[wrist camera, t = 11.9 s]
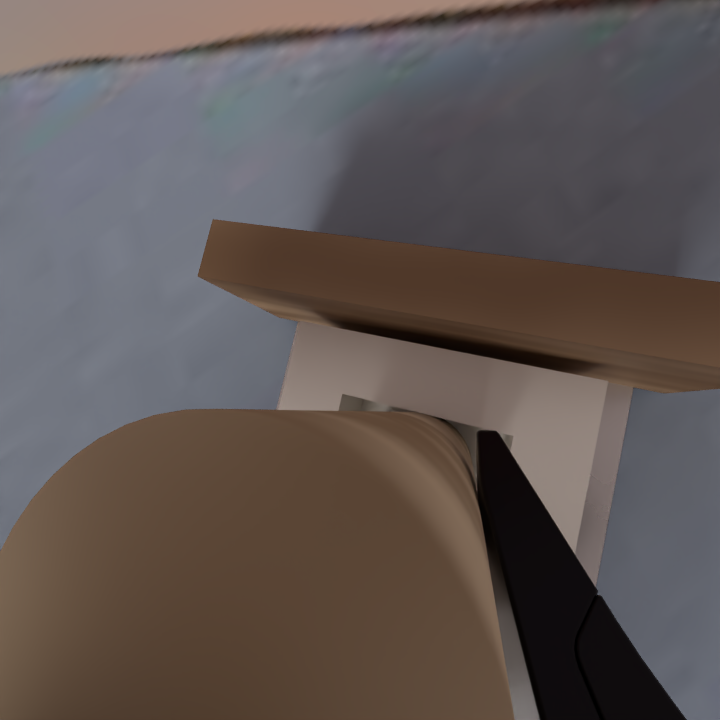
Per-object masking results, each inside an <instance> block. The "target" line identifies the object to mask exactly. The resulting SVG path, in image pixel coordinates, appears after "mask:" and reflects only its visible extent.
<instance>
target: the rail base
mask: <svg viewBox="0 0 720 720" xmlns="http://www.w3.org/2000/svg"><path fill="white" fill-rule="evenodd" d="M198 277H200V278H202V279H204V280H206V281H208V282H210V283H212V284H214V285H216V286H218V287H220V288H222V289H224V290H226V291H228V292H230V293H232V294H234V295H236V296H238V297H240V298H242V299H244V300H246V301H248V302H250V303H252V304H254V305H256V306H258V307H259V308H261V309H263V310H265V311H267V312H269V313H271V314H273V315H275V316H277V317H279V318H284V319H289V320H294V321H298V324H297V328H296V332H295V336H294V340H293V344H292V348H291V352H290V356H289V360H288V364H287V368H286V372H285V376H284V380H283V384H282V388H281V392H280V396H279V400H278V404H277V408H276V410H278V408H279V404H280V400H281V396H282V392H283V388H284V384H285V380H286V376H287V372H288V368H289V364H290V360H291V356H292V352H293V348H294V344H295V340H296V336H297V332H298V328H299V324H300V321H305V322H310V323H315V324H320V325H325V326H330V327H335V328H340V329H345V330H350V331H356V332H361V333H366V334H371V335H376V336H381V337H386V338H391V339H396V340H401V341H407V342H412V343H417V344H422V345H427V346H432V347H437V348H442V349H447V350H452V351H458V352H463V353H468V354H473V355H478V356H483V357H488V358H493V359H498V360H503V361H509V362H514V363H519V364H524V365H529V366H534V367H539V368H544V369H549V370H554V371H560V372H565V373H570V374H575V375H580V376H585V377H590V378H595V379H600V380H605V381H608V385H607V391H606V396H605V401H604V406H603V411H602V416H601V422H600V427H599V432H598V437H597V442H596V447H595V453H594V458H593V463H592V468H591V473H590V479H589V484H588V489H587V494H586V499H585V504H584V510H583V515H582V520H581V525H580V530H579V535H578V541H577V546H576V551H575V555H576V557H577V558H578V560H579V562H580V563H581V565H582V566H583V568H584V569H585V571H586V573H587V574H588V576H589V577H590V579H591V581H592V582H593V584H594V585H595V587H596V583H597V577H598V572H599V567H600V562H601V556H602V551H603V546H604V540H605V535H606V530H607V525H608V519H609V514H610V509H611V503H612V498H613V493H614V488H615V482H616V477H617V472H618V466H619V461H620V456H621V450H622V445H623V440H624V435H625V429H626V424H627V419H628V413H629V408H630V403H631V398H632V392H633V387H634V388H640V389H645V390H650V391H655V392H660V393H675V392H686V391H698V390H709V389H720V282H714V281H706V280H698V279H690V278H682V277H674V276H666V275H658V274H650V273H642V272H634V271H626V270H617V269H609V268H601V267H593V266H585V265H577V264H569V263H561V262H553V261H545V260H537V259H529V258H521V257H513V256H505V255H496V254H488V253H480V252H472V251H464V250H456V249H448V248H440V247H432V246H424V245H416V244H408V243H400V242H392V241H384V240H375V239H367V238H359V237H351V236H343V235H335V234H327V233H319V232H311V231H303V230H295V229H287V228H279V227H271V226H263V225H254V224H246V223H238V222H230V221H222V220H214V219H213V221H212V224H211V228H210V232H209V236H208V239H207V243H206V247H205V251H204V254H203V258H202V262H201V265H200V269H199V273H198Z"/></svg>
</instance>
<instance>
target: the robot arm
mask: <svg viewBox="0 0 720 720" xmlns="http://www.w3.org/2000/svg"><path fill="white" fill-rule="evenodd" d="M476 467H477V495H478V501H479V507H480V513H481V519H482V525H483V531H484V537H485V543H486V549H487V555H488V561H489V567H490V573H491V579H492V586H493V592H494V598H495V604H496V610H497V616H498V622H499V628H500V634H501V640H502V646H503V652H504V658H505V665H506V671H507V677H508V683H509V689H510V695H511V701H512V707H513V713H514V719H515V720H687V719H686V718H685V717H684V715H683V714H682V713H681V711H680V710H679V709H678V707H677V706H676V705H675V703H674V702H673V701H672V699H671V698H670V697H669V695H668V694H667V692H666V691H665V690H664V688H663V687H662V686H661V684H660V683H659V681H658V680H657V679H656V677H655V676H654V674H653V673H652V672H651V670H650V669H649V668H648V666H647V665H646V663H645V662H644V661H643V659H642V658H641V656H640V655H639V653H638V652H637V650H636V649H635V647H634V646H633V644H632V643H631V641H630V640H629V638H628V637H627V635H626V634H625V632H624V631H623V629H622V628H621V626H620V625H619V623H618V622H617V620H616V618H615V617H614V615H613V614H612V612H611V610H610V609H609V607H608V606H607V604H606V603H605V601H604V599H603V598H602V596H600V595H597V593H598V590H597V589H596V587H595V585H594V584H593V582H592V581H591V579H590V577H589V576H588V574H587V573H586V571H585V569H584V568H583V566H582V565H581V563H580V562H579V560H578V558H577V557H576V555H575V554H574V552H573V550H572V549H571V547H570V546H569V544H568V542H567V541H566V539H565V538H564V536H563V534H562V533H561V531H560V530H559V528H558V526H557V525H556V523H555V522H554V520H553V519H552V517H551V515H550V514H549V512H548V511H547V509H546V507H545V506H544V504H543V503H542V501H541V499H540V498H539V496H538V495H537V493H536V491H535V490H534V488H533V487H532V485H531V483H530V482H529V480H528V479H527V477H526V476H525V474H524V472H523V471H522V469H521V468H520V466H519V464H518V463H517V461H516V460H515V458H514V456H513V455H512V453H511V452H510V450H509V448H508V447H507V445H506V444H505V442H504V440H503V439H502V437H501V436H500V434H499V433H498V432H497V431H495V430H479V431H477V433H476Z"/></svg>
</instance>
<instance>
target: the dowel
mask: <svg viewBox="0 0 720 720" xmlns="http://www.w3.org/2000/svg"><path fill="white" fill-rule="evenodd" d="M0 720H515V719H514V713H513V707H512V701H511V695H510V689H509V683H508V677H507V671H506V665H505V658H504V652H503V646H502V640H501V634H500V628H499V622H498V616H497V610H496V604H495V598H494V592H493V586H492V579H491V573H490V567H489V561H488V555H487V549H486V543H485V537H484V531H483V525H482V519H481V513H480V507H479V501H478V495H477V488H476V482H475V476H474V470H473V464H472V458H471V454H470V451H469V448H468V446H467V443H466V441H465V440H464V438H463V437H462V435H461V434H460V433H459V431H458V430H457V429H456V428H455V427H454V426H453V425H452V424H450V423H449V422H447V421H446V420H444V419H442V418H439V417H435V416H431V415H426V414H422V413H418V412H386V411H319V410H253V409H192V410H180V411H175V412H169V413H163V414H158V415H153V416H150V417H147V418H144V419H141V420H138V421H135V422H132V423H130V424H127V425H124V426H122V427H120V428H119V429H117V430H115V431H113V432H111V433H109V434H107V435H105V436H103V437H101V438H99V439H97V440H96V441H95V442H93V443H92V444H90V445H89V446H87V447H86V448H85V449H83V450H82V451H80V452H79V453H77V454H76V455H75V456H73V457H72V458H71V459H70V460H69V461H68V462H67V463H66V464H65V465H64V466H62V467H61V468H60V469H59V470H58V471H57V472H56V473H55V474H54V475H53V476H52V477H51V478H50V479H49V480H48V481H47V482H46V484H45V485H44V486H43V487H42V488H41V489H40V491H39V492H38V493H37V494H36V495H35V496H34V498H33V499H32V500H31V501H30V503H29V504H28V506H27V507H26V509H25V510H24V512H23V513H22V515H21V516H20V518H19V519H18V521H17V522H16V524H15V525H14V527H13V528H12V530H11V532H10V534H9V536H8V538H7V540H6V542H5V544H4V545H3V547H2V549H1V551H0Z"/></svg>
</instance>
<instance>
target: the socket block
mask: <svg viewBox="0 0 720 720" xmlns="http://www.w3.org/2000/svg"><path fill="white" fill-rule="evenodd" d="M607 385H608V381H605V380H600V379H595V378H590V377H585V376H580V375H575V374H570V373H565V372H560V371H554V370H549V369H544V368H539V367H534V366H529V365H524V364H519V363H514V362H509V361H503V360H498V359H493V358H488V357H483V356H478V355H473V354H468V353H463V352H458V351H452V350H447V349H442V348H437V347H432V346H427V345H422V344H417V343H412V342H407V341H401V340H396V339H391V338H386V337H381V336H376V335H371V334H366V333H361V332H356V331H350V330H345V329H340V328H335V327H330V326H325V325H320V324H315V323H310V322H305V321H300V324H299V328H298V332H297V336H296V340H295V344H294V348H293V352H292V356H291V360H290V364H289V368H288V372H287V376H286V380H285V384H284V388H283V392H282V396H281V400H280V404H279V408H278V410H319V411H386V412H418V413H422V414H426V415H431V416H435V417H439V418H442V419H444V420H446V421H447V422H449V423H450V424H452V425H453V426H454V427H455V428H456V429H457V430H458V431H459V433H460V434H461V435H462V437H463V438H464V440H465V441H466V443H467V446H468V448H469V451H470V454H471V458H472V464H473V470H474V476H475V482H476V488H477V467H476V433H477V431H479V430H495V431H497V432H498V433H499V434H500V436H501V437H502V439H503V440H504V442H505V444H506V445H507V447H508V448H509V450H510V452H511V453H512V455H513V456H514V458H515V460H516V461H517V463H518V464H519V466H520V468H521V469H522V471H523V472H524V474H525V476H526V477H527V479H528V480H529V482H530V483H531V485H532V487H533V488H534V490H535V491H536V493H537V495H538V496H539V498H540V499H541V501H542V503H543V504H544V506H545V507H546V509H547V511H548V512H549V514H550V515H551V517H552V519H553V520H554V522H555V523H556V525H557V526H558V528H559V530H560V531H561V533H562V534H563V536H564V538H565V539H566V541H567V542H568V544H569V546H570V547H571V549H572V550H573V552H574V554H575V551H576V546H577V541H578V535H579V530H580V525H581V520H582V515H583V510H584V504H585V499H586V494H587V489H588V484H589V479H590V473H591V468H592V463H593V458H594V453H595V447H596V442H597V437H598V432H599V427H600V422H601V416H602V411H603V406H604V401H605V396H606V391H607Z"/></svg>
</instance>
